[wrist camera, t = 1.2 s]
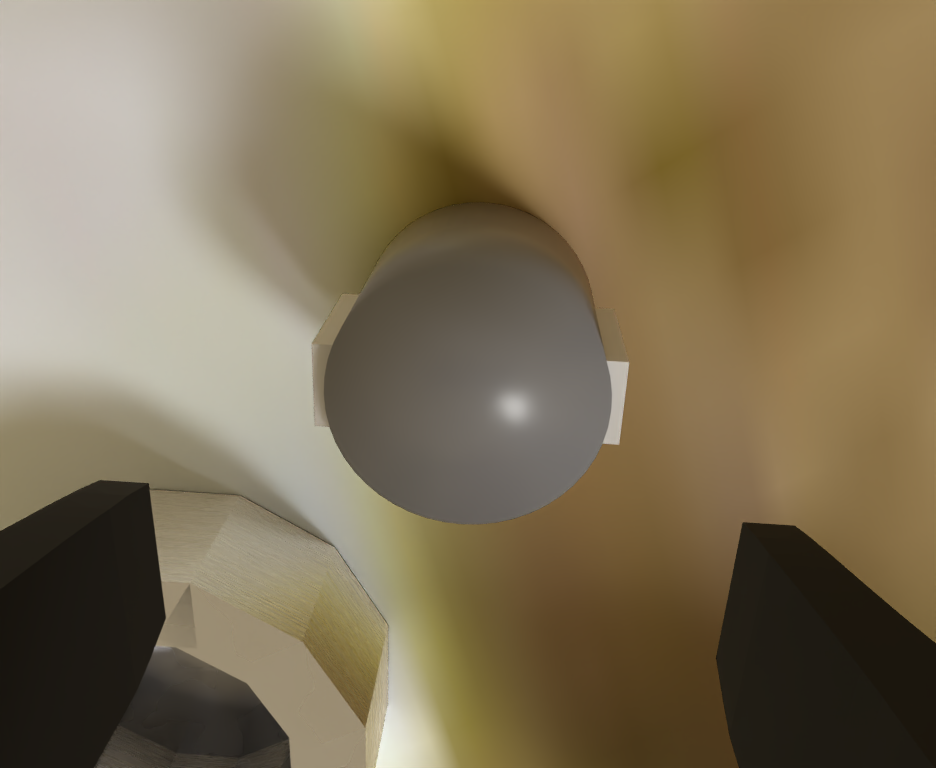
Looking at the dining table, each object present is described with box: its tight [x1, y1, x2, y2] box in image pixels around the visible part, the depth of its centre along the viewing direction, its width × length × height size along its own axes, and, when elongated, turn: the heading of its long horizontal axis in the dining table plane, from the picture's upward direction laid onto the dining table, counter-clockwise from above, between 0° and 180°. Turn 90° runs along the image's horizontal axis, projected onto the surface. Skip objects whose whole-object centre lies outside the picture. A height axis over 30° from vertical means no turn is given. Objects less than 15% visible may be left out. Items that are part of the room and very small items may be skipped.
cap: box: [312, 202, 629, 524], centre depth 17 cm, size 6×5×4 cm
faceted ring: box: [94, 489, 388, 768], centre depth 22 cm, size 10×10×4 cm
